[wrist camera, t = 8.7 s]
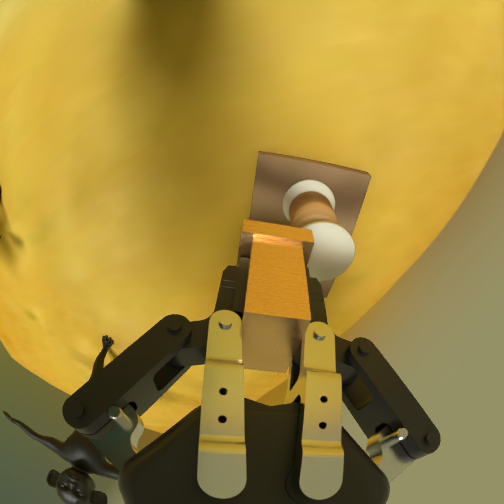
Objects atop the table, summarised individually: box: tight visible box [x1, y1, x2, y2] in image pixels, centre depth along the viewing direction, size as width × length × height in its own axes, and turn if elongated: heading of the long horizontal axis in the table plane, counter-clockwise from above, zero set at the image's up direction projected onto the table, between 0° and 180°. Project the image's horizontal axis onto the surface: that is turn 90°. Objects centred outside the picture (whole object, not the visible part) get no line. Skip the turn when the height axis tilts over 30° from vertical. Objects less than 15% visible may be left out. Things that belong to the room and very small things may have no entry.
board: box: [250, 151, 371, 297], centre depth 28 cm, size 18×12×10 cm, turn 173°
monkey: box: [3, 335, 119, 504], centre depth 40 cm, size 40×20×40 cm, turn 67°
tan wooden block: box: [237, 219, 315, 373], centre depth 13 cm, size 4×4×6 cm
